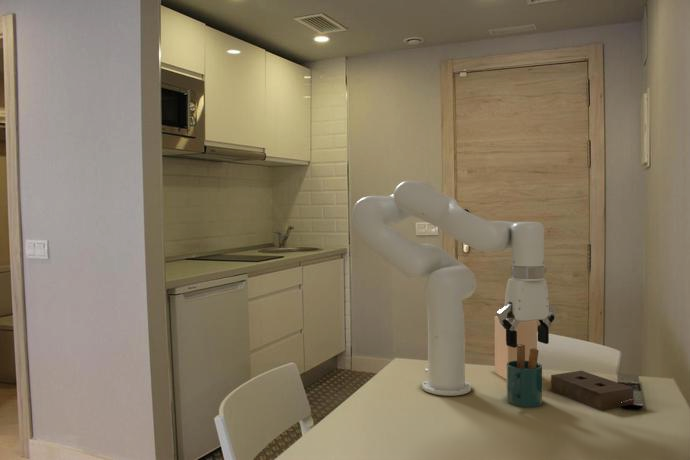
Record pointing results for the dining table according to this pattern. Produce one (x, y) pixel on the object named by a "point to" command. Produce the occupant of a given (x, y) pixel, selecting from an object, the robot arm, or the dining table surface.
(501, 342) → the soap dispenser
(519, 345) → the stirrer
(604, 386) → the stirrer stand
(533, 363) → the stirrer
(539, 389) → the mug
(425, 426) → the dining table surface
